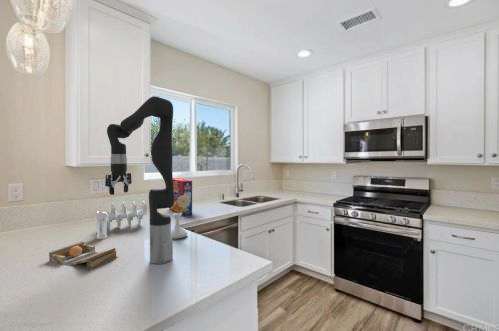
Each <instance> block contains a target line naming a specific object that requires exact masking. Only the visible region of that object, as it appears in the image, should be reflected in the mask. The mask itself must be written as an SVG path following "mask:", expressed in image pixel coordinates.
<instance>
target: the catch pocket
mask: <svg viewBox="0 0 499 331" xmlns="http://www.w3.org/2000/svg"><path fill="white" fill-rule="evenodd" d="M74 246H79V247H81V249H82V251H86V252H90V251H92V252H93V251H95V252H96V246H95V245H91V244H86V243H85V241H80V242H75V243H73V244H70V245H67V246H64V247H61V248H58V249H56V250H51V251H49V252H48V253H49V254H48V256H49V257H48V258H49V260H48V261H49V262H52V263H55V264H60V265H63V263H64V262H66V256H69V250H70V249H71V248H72V247H74Z"/></svg>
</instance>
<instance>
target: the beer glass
mask: <svg viewBox="0 0 499 331" xmlns="http://www.w3.org/2000/svg"><path fill="white" fill-rule="evenodd" d="M109 214H110V211H108V210H100V211H97V212H95V216H94V217H95V220H94V221H95V226H96V231H97V232H96V233H97V234H96V239H97V240H105V239H107V238H109V229H108V226H109Z"/></svg>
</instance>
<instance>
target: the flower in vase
mask: <svg viewBox="0 0 499 331" xmlns="http://www.w3.org/2000/svg"><path fill="white" fill-rule="evenodd" d="M177 204H178V205H179V207H183V208H181V209H182V211H184V212H185V211H188V209H187V208H186V206H187V207H188V206H189V205H190V200H189V198H188V197H187V196H185V195H182V196H180V197H178V200H177ZM174 210H175V209H174ZM175 211H178V210H175ZM180 211H181V210H180ZM180 211H178V212H180ZM172 215H173V217H174V219H175V225H174V226H173V228H172V229H171V239H182V238H185V237H187V236H188V232H187V230H185V229H184V228H183V227H182V226H180V225H181V224H180V219H181V215H182V214H181V213H175V212H174V213H173V214H172Z"/></svg>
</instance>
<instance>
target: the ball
mask: <svg viewBox="0 0 499 331" xmlns="http://www.w3.org/2000/svg"><path fill="white" fill-rule="evenodd" d="M81 253H82V249H81V247H79V246H74V247H72V248H71V249H70V250H69V255H70V256H71V257H77V256H79V255H80V254H81Z"/></svg>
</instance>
